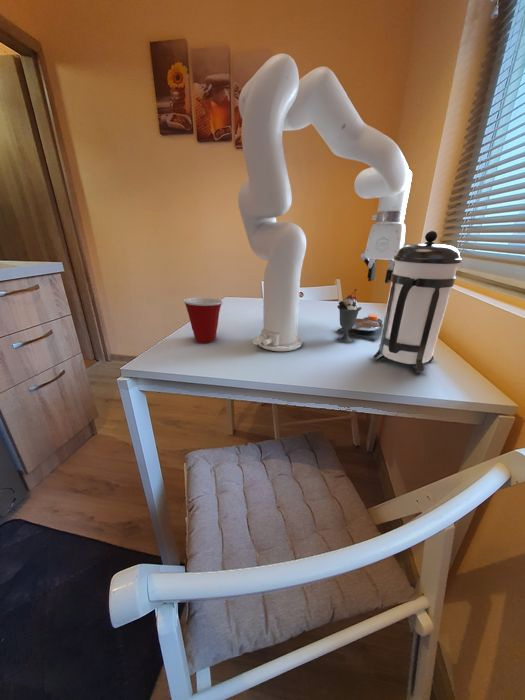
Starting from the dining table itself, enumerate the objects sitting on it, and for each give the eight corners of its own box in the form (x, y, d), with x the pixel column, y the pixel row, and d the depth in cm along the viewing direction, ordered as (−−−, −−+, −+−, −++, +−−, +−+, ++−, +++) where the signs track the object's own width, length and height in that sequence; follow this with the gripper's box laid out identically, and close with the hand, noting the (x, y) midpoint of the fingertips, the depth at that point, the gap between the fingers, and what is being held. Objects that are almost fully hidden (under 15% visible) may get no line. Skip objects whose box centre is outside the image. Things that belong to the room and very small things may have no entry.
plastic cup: (232, 337, 83) (230, 298, 79) (207, 349, 75) (204, 305, 70) (205, 331, 89) (202, 293, 84) (179, 341, 80) (174, 300, 76)
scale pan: (372, 332, 82) (372, 330, 81) (340, 325, 87) (341, 323, 87) (384, 325, 89) (384, 322, 88) (354, 319, 94) (354, 316, 94)
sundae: (356, 338, 84) (364, 288, 79) (356, 345, 79) (364, 292, 73) (334, 335, 86) (340, 286, 81) (332, 342, 81) (338, 291, 75)
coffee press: (359, 348, 77) (378, 230, 65) (418, 349, 76) (447, 231, 65) (382, 378, 61) (413, 230, 49) (456, 380, 61) (505, 231, 49)
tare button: (375, 322, 92) (376, 317, 91) (365, 320, 94) (366, 315, 93) (378, 320, 94) (379, 315, 94) (369, 318, 96) (370, 313, 96)
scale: (374, 341, 82) (375, 333, 81) (337, 332, 89) (337, 325, 88) (392, 328, 94) (393, 321, 93) (357, 321, 101) (358, 314, 100)
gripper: (357, 218, 84) (349, 280, 91) (418, 217, 74) (403, 286, 81) (366, 219, 90) (358, 277, 97) (424, 218, 80) (410, 283, 87)
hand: (379, 281), depth 89 cm, fingers open, 4 cm apart
